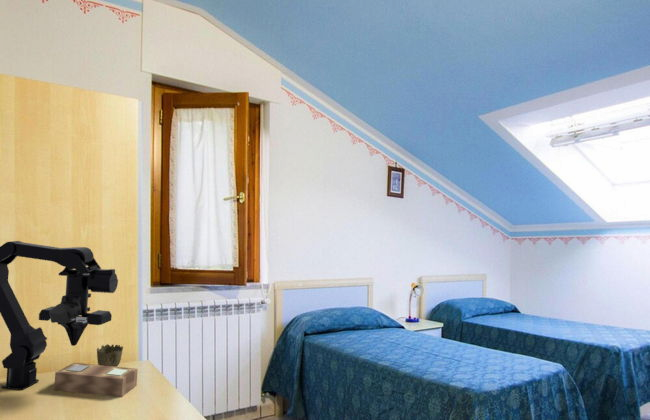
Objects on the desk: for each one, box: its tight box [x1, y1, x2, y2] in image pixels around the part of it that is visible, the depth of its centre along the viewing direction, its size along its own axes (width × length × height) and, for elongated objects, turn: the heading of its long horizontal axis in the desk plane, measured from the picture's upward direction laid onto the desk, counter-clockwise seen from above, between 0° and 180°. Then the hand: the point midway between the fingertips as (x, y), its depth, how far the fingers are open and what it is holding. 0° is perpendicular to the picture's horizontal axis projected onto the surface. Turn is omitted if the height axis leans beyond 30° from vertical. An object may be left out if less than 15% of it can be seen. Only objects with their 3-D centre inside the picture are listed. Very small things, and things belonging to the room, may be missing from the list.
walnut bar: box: [53, 362, 139, 398], centre depth 126 cm, size 20×8×5 cm, turn 85°
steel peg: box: [67, 365, 89, 372], centre depth 127 cm, size 4×4×5 cm
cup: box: [96, 344, 124, 367], centre depth 138 cm, size 8×7×8 cm
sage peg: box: [107, 369, 128, 376], centre depth 126 cm, size 4×4×5 cm
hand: (73, 345), depth 126 cm, fingers closed
